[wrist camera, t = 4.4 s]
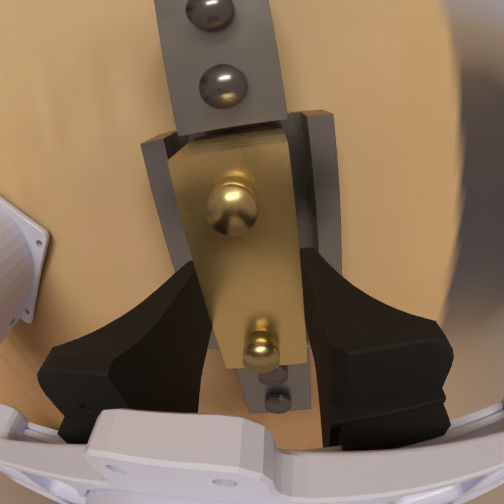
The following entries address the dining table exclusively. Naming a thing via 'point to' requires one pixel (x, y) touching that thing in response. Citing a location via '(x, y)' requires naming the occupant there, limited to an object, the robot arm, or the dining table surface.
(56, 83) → the dining table surface
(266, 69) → the chain
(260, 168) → the brass link
